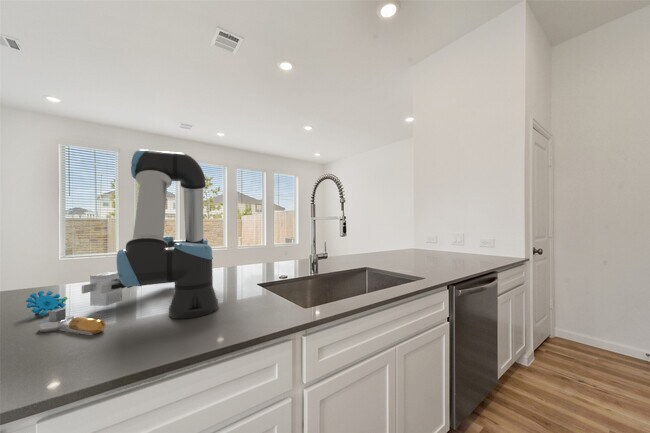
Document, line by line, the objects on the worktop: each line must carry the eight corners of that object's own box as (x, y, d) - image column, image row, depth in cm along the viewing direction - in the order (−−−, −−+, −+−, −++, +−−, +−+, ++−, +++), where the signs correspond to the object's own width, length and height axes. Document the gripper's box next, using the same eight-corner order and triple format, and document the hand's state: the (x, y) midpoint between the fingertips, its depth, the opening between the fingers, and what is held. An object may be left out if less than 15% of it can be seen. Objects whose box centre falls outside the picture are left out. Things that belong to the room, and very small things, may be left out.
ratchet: (115, 328, 74) (115, 311, 74) (87, 339, 67) (87, 320, 67) (64, 321, 80) (64, 305, 80) (33, 330, 73) (33, 313, 73)
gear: (35, 315, 81) (22, 291, 83) (23, 328, 81) (10, 304, 83) (75, 308, 92) (63, 287, 94) (64, 320, 92) (52, 298, 94)
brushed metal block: (122, 300, 92) (122, 272, 93) (106, 305, 86) (106, 275, 87) (107, 300, 93) (107, 272, 93) (90, 305, 87) (90, 275, 87)
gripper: (168, 283, 107) (118, 301, 84) (126, 283, 109) (66, 300, 86) (168, 265, 107) (117, 278, 84) (126, 266, 109) (66, 278, 86)
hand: (91, 289), depth 85 cm, fingers closed on brushed metal block, 6 cm apart
